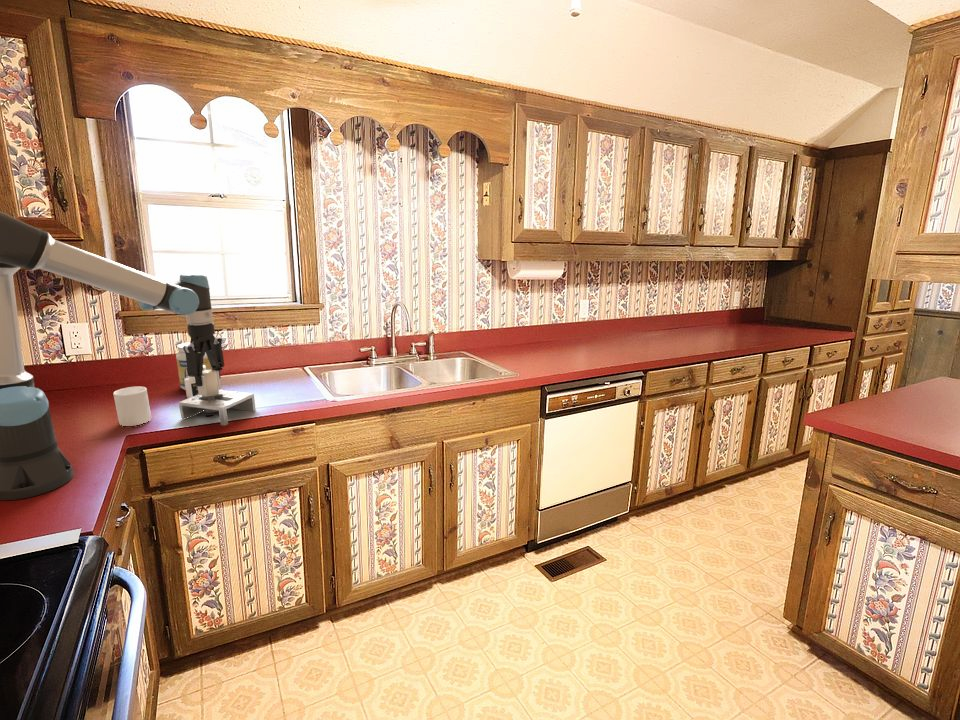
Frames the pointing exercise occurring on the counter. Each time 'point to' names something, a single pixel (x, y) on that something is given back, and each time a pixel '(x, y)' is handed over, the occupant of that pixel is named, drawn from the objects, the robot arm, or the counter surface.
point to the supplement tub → (183, 364)
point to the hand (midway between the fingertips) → (210, 392)
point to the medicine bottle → (191, 385)
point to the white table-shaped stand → (218, 404)
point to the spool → (211, 386)
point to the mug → (132, 406)
